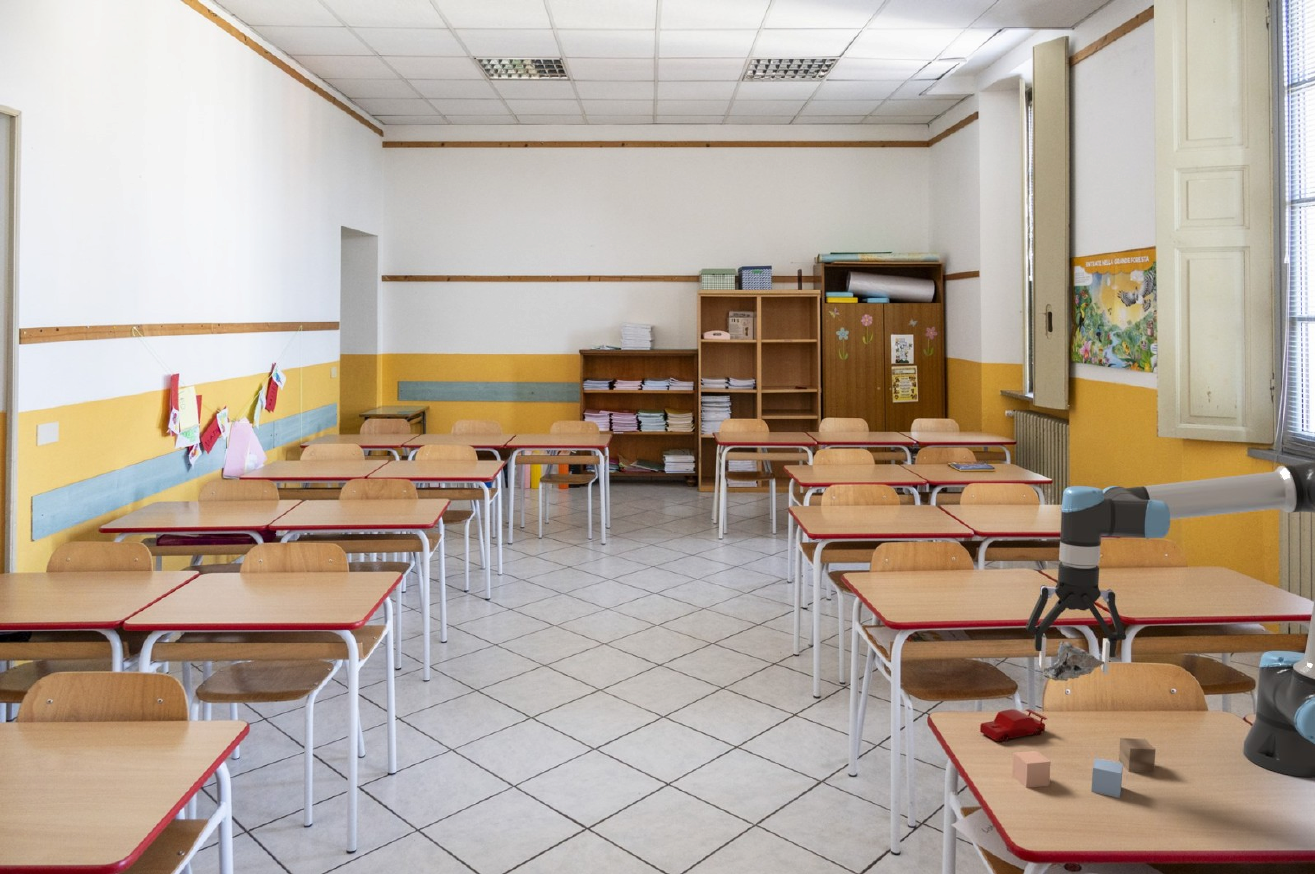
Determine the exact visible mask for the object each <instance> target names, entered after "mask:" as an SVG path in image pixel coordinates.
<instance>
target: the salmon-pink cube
mask: <svg viewBox="0 0 1315 874" xmlns="http://www.w3.org/2000/svg"><path fill="white" fill-rule="evenodd" d="M1012 755H1013V756H1012V773H1011V776H1012V777H1013V778H1014V779H1015V780H1017V781H1018V782H1019V783H1020V784H1021V785H1023V786H1024V787H1025V788H1035V787H1036V788H1037V787H1047V786H1050V780H1051V779H1050V778H1051V777H1050V775H1051V761H1050V760H1049V759H1048V758H1046V757H1045V756H1044V755H1043V754H1041V753H1040V752H1039V751H1037V750H1030V751H1016V752H1013V754H1012Z"/></svg>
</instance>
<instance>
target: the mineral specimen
mask: <svg viewBox="0 0 1315 874" xmlns="http://www.w3.org/2000/svg"><path fill="white" fill-rule="evenodd" d="M1057 654H1058V655H1057V657H1058V659H1057V661H1056V662H1054V663H1053V665H1052V666H1049V667H1048V668H1046V667H1045V669H1043V672H1042V675H1043V676H1044V678H1046V679H1051V680H1053V681H1063V682H1067V681H1068V680H1069V679H1072V680H1074V679H1079V677H1081V676H1085V675H1090V674H1091V673H1092V672H1093V671H1094V670H1095V668H1099V667H1100V668H1101V667H1102V665H1103V664H1104V661H1102V659H1098V658H1097V657H1095V655H1092V654H1091V653H1089V652H1087V651H1086V650H1084V649H1083V648H1080V647H1078V646H1073V644H1072V642H1069V641H1061V642H1060V643H1059V648H1058V649H1057Z"/></svg>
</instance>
